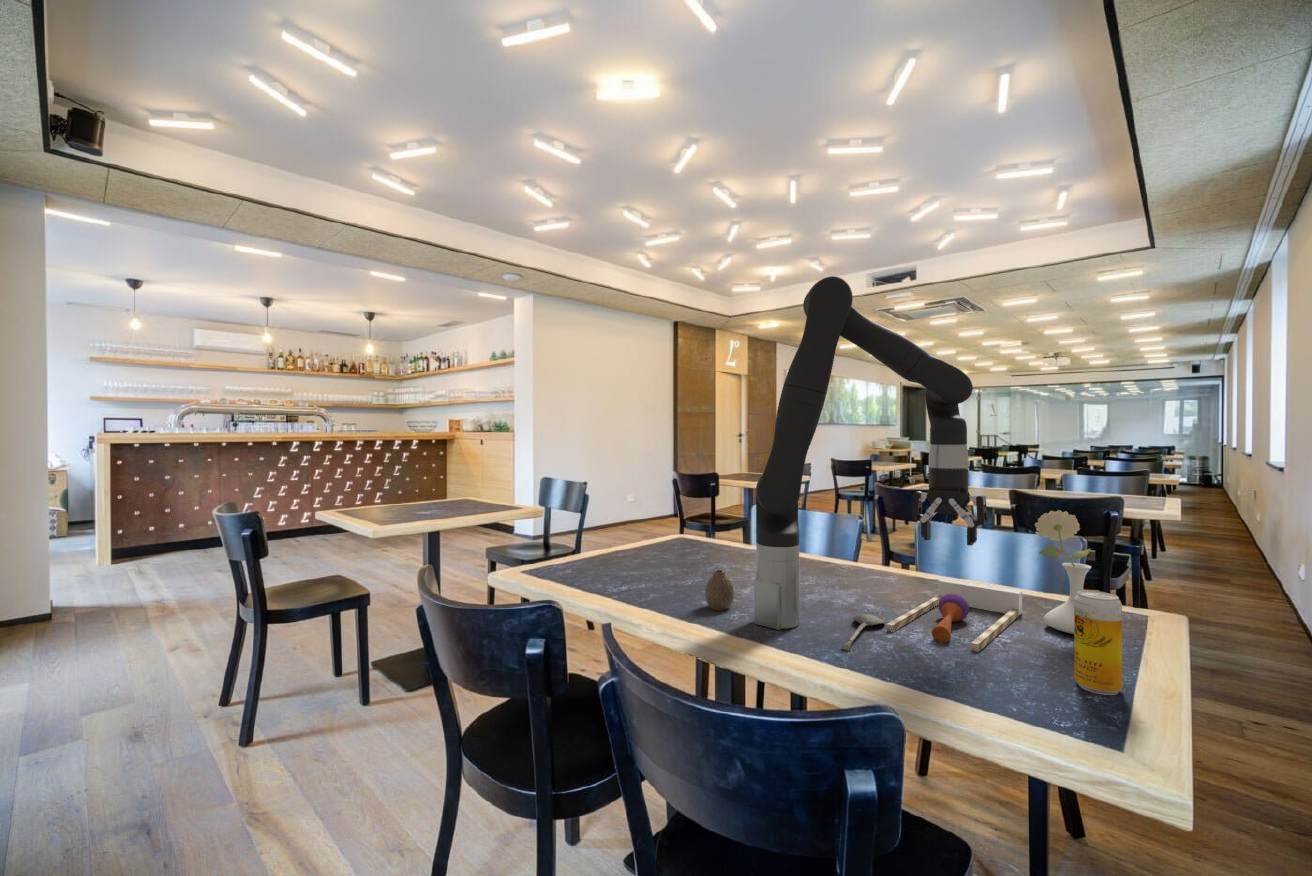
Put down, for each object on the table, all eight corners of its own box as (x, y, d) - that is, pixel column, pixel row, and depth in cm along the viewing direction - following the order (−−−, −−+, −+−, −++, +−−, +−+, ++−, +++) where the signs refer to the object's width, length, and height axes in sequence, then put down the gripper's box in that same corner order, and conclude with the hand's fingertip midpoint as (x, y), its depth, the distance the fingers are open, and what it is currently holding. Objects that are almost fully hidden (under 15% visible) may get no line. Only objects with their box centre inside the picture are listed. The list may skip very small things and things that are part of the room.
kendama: (921, 619, 115) (938, 590, 132) (928, 649, 115) (944, 616, 132) (954, 619, 112) (967, 589, 128) (960, 650, 112) (973, 616, 128)
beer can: (1065, 681, 95) (1064, 590, 95) (1099, 679, 96) (1099, 589, 96) (1096, 697, 89) (1095, 600, 89) (1132, 695, 89) (1132, 599, 90)
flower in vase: (1114, 631, 120) (1114, 511, 120) (1108, 645, 111) (1108, 516, 112) (1040, 618, 129) (1039, 506, 129) (1029, 630, 120) (1029, 510, 120)
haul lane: (978, 652, 108) (978, 644, 108) (886, 630, 120) (886, 623, 120) (1018, 615, 130) (1018, 609, 130) (938, 601, 142) (938, 594, 142)
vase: (738, 606, 138) (738, 569, 138) (726, 613, 132) (726, 575, 132) (713, 602, 142) (713, 566, 142) (699, 609, 136) (699, 571, 136)
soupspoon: (888, 627, 126) (857, 624, 129) (888, 611, 126) (857, 608, 130) (862, 655, 107) (827, 650, 111) (861, 636, 108) (826, 632, 111)
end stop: (1018, 615, 130) (1018, 593, 130) (938, 601, 142) (938, 580, 142) (1022, 612, 132) (1022, 591, 132) (942, 598, 144) (942, 578, 144)
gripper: (907, 465, 125) (907, 540, 124) (980, 467, 115) (980, 549, 115) (919, 464, 130) (920, 536, 130) (990, 466, 120) (990, 544, 120)
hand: (948, 542), depth 122 cm, fingers open, 8 cm apart
